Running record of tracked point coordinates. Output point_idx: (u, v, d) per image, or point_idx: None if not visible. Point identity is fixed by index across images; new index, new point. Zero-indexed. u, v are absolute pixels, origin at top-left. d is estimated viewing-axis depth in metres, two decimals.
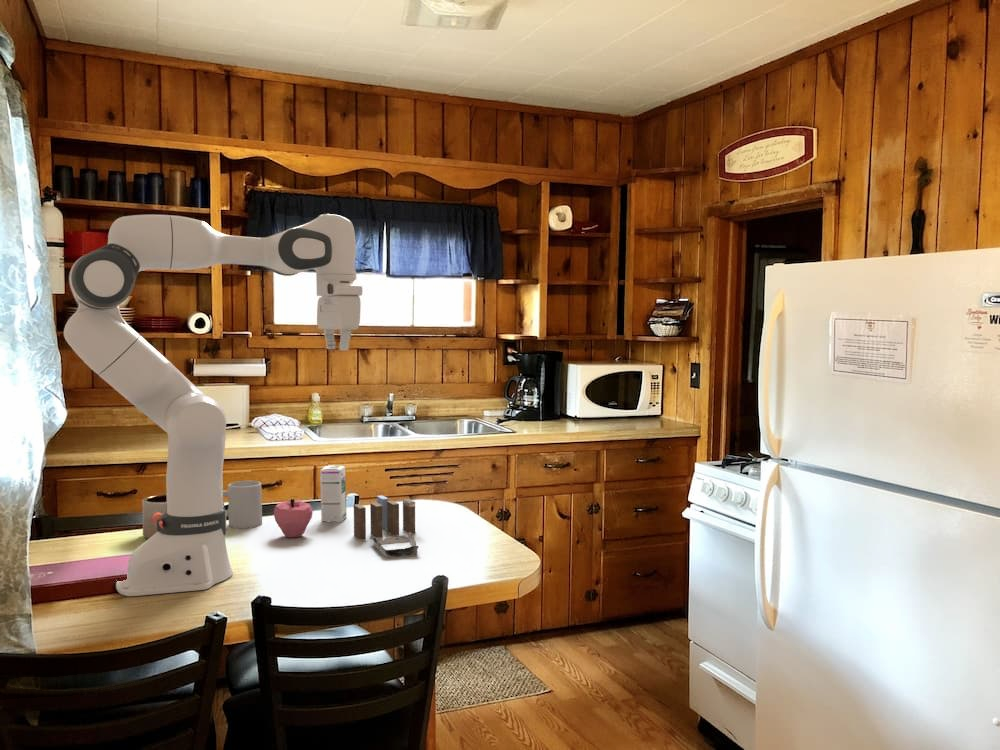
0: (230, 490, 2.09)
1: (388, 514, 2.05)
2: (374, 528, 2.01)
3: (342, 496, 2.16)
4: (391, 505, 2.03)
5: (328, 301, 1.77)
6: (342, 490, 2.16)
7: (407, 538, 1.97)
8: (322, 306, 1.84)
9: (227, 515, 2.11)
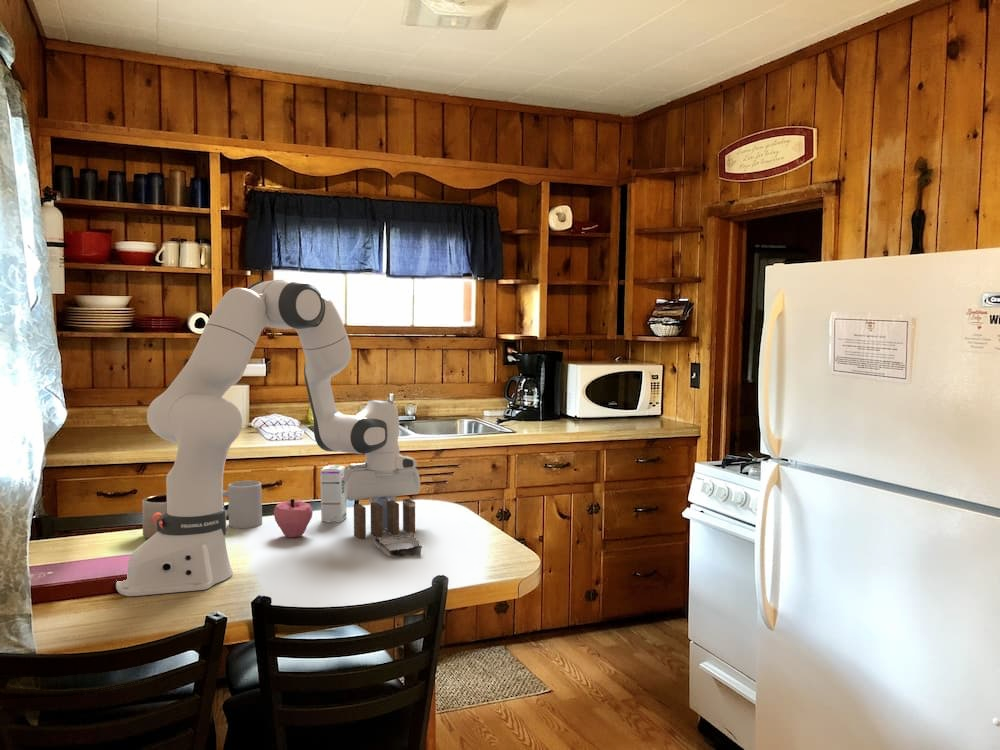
0: (230, 490, 2.09)
1: (388, 514, 2.05)
2: (374, 528, 2.01)
3: (342, 496, 2.16)
4: (391, 505, 2.03)
5: (392, 473, 2.08)
6: (342, 490, 2.16)
7: (408, 538, 1.97)
8: (362, 479, 2.05)
9: (227, 515, 2.11)
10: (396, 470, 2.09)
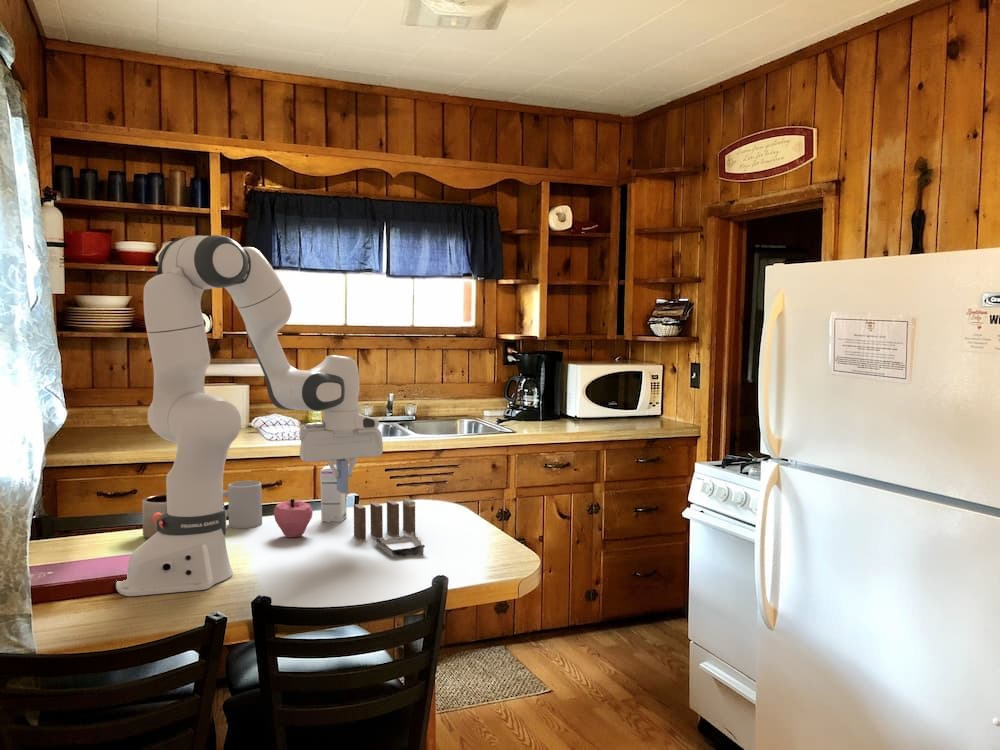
0: (230, 490, 2.09)
1: (388, 514, 2.05)
2: (374, 528, 2.01)
3: (342, 496, 2.16)
4: (391, 505, 2.03)
5: (352, 434, 1.95)
6: None
7: (409, 538, 1.97)
8: (319, 439, 1.92)
9: (227, 515, 2.11)
10: (356, 430, 1.96)
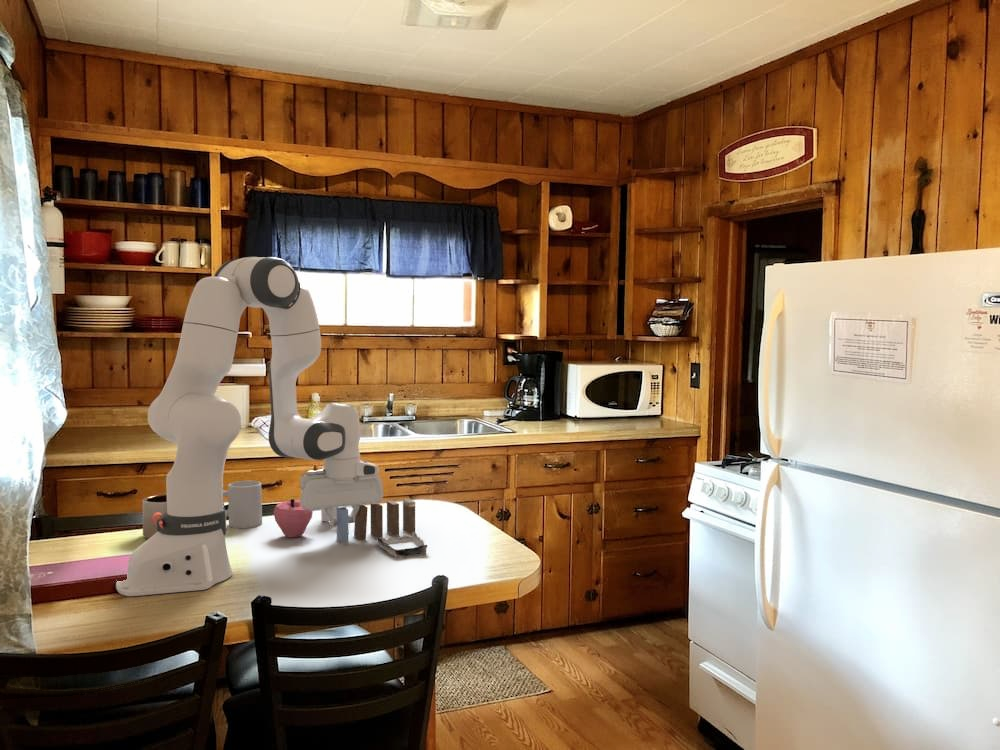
0: (230, 490, 2.09)
1: (388, 514, 2.05)
2: (374, 528, 2.01)
3: None
4: (391, 505, 2.03)
5: (352, 481, 1.96)
6: None
7: (410, 538, 1.97)
8: (320, 487, 1.93)
9: (227, 515, 2.11)
10: (356, 477, 1.97)
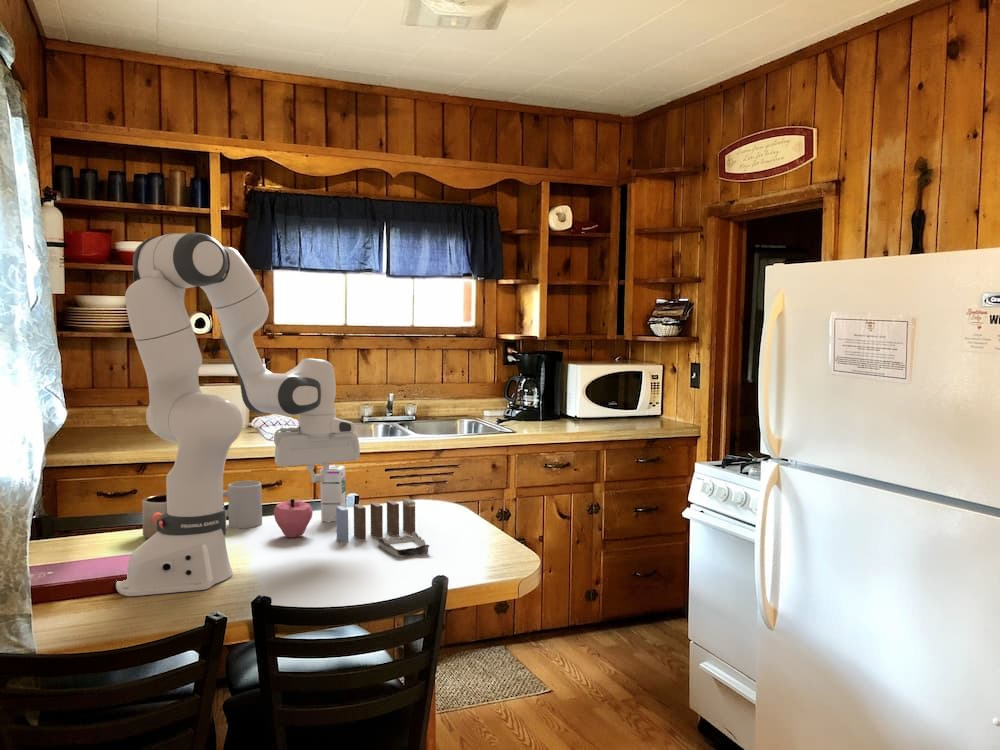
0: (230, 490, 2.09)
1: (388, 514, 2.05)
2: (374, 528, 2.01)
3: (342, 496, 2.16)
4: (391, 505, 2.03)
5: (328, 438, 1.92)
6: (342, 490, 2.16)
7: (411, 538, 1.98)
8: (294, 444, 1.89)
9: (227, 515, 2.11)
10: (332, 434, 1.93)
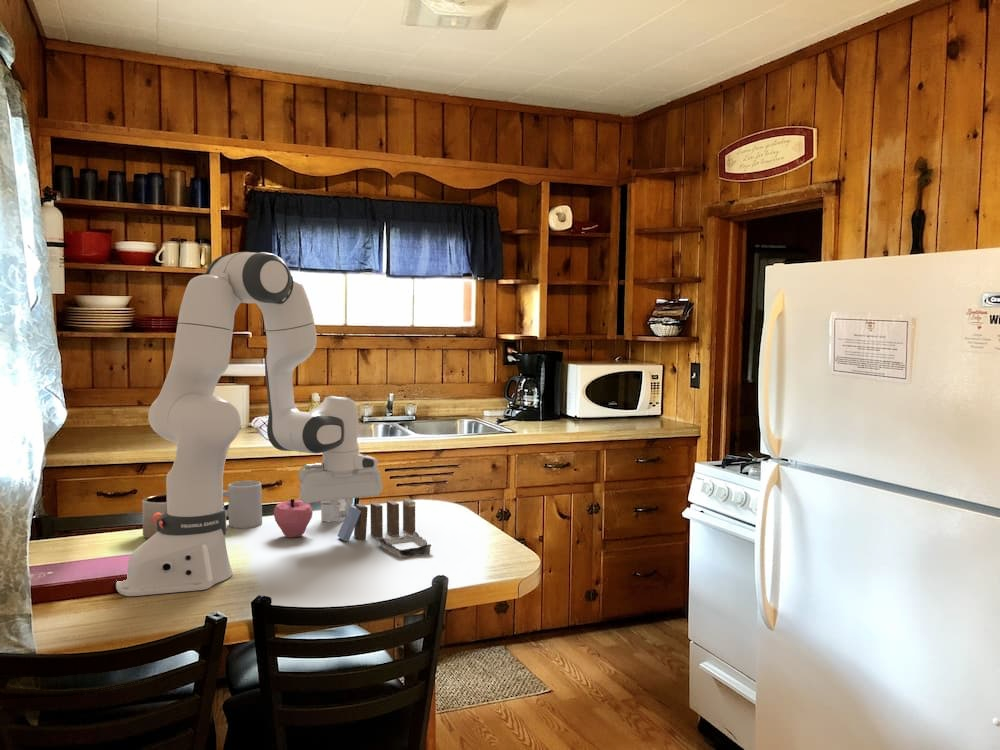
0: (230, 490, 2.09)
1: (388, 514, 2.05)
2: (374, 528, 2.01)
3: None
4: (391, 505, 2.03)
5: (351, 474, 1.96)
6: None
7: (412, 537, 1.98)
8: (319, 480, 1.93)
9: (227, 515, 2.11)
10: (355, 470, 1.97)
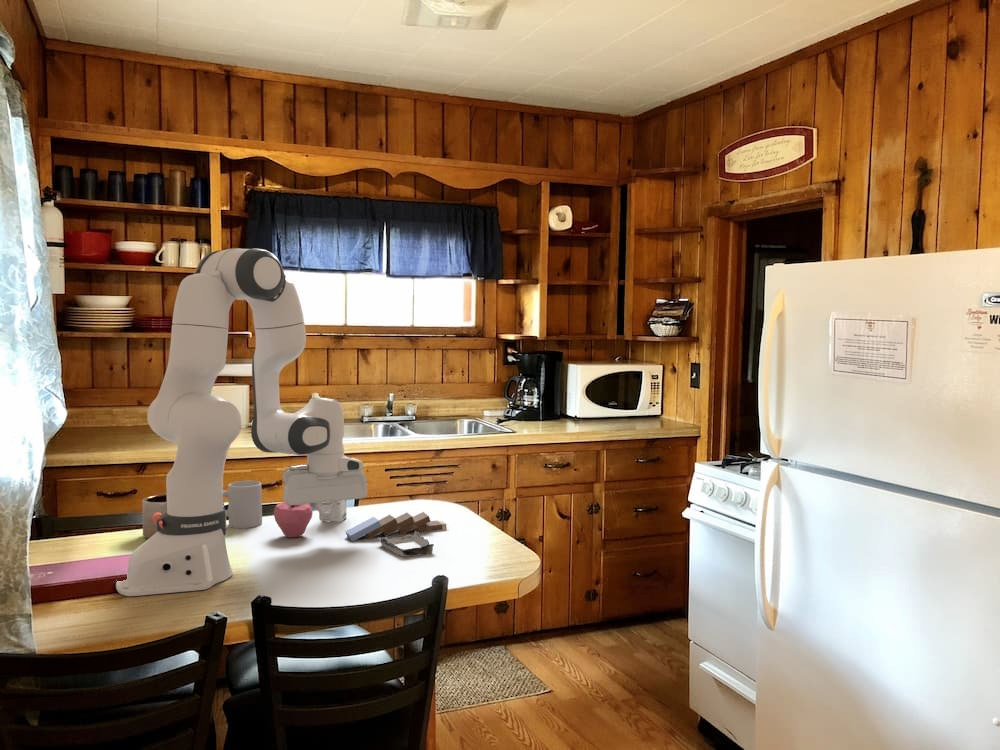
0: (230, 490, 2.09)
1: (413, 518, 2.07)
2: None
3: None
4: (425, 515, 2.06)
5: (336, 476, 1.94)
6: None
7: (412, 537, 1.98)
8: (303, 482, 1.91)
9: (227, 515, 2.11)
10: (340, 473, 1.95)
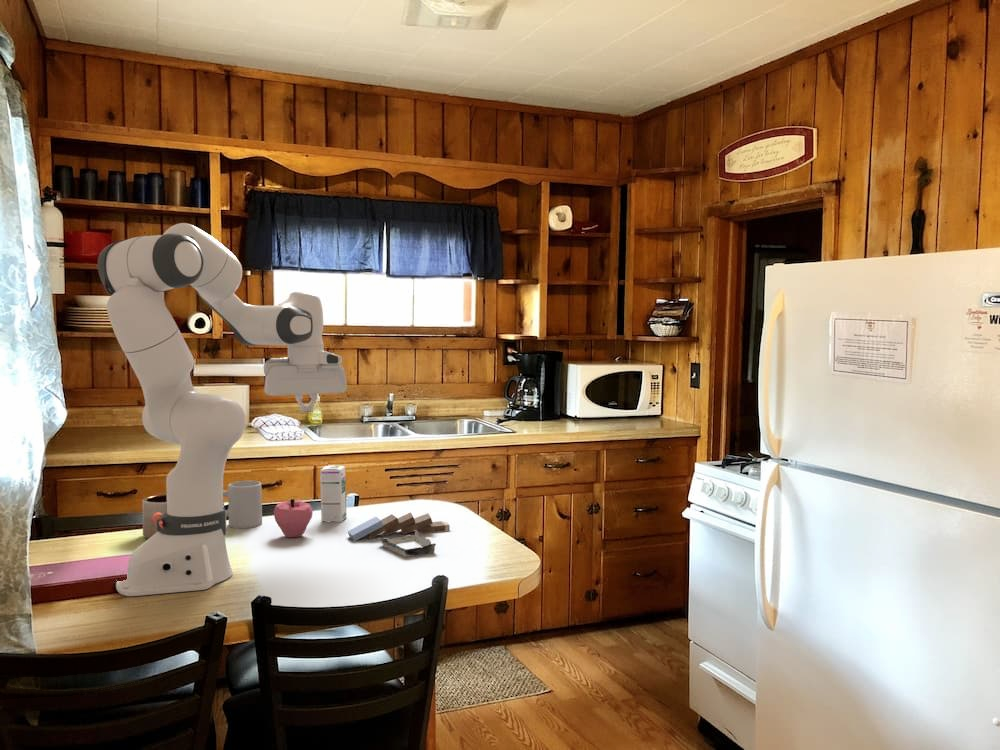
0: (230, 490, 2.09)
1: (417, 518, 2.07)
2: None
3: (342, 496, 2.16)
4: (428, 517, 2.05)
5: (316, 369, 2.00)
6: (342, 490, 2.16)
7: (413, 537, 1.98)
8: (283, 374, 1.97)
9: (227, 515, 2.11)
10: (320, 366, 2.01)
